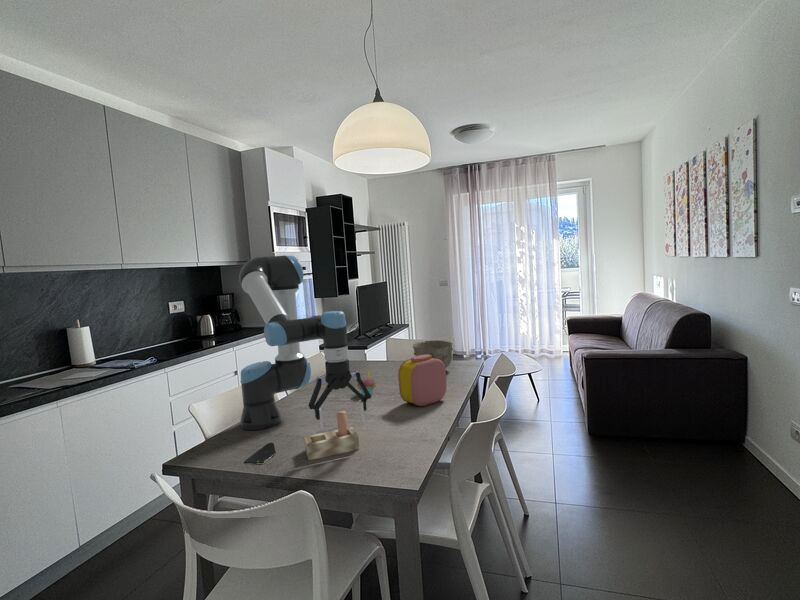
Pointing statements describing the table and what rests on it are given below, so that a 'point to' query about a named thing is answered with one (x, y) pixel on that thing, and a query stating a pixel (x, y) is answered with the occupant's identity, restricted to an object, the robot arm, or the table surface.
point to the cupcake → (368, 385)
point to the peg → (342, 423)
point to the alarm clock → (422, 380)
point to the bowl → (435, 350)
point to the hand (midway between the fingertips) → (342, 424)
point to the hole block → (330, 443)
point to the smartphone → (262, 454)
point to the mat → (327, 430)
